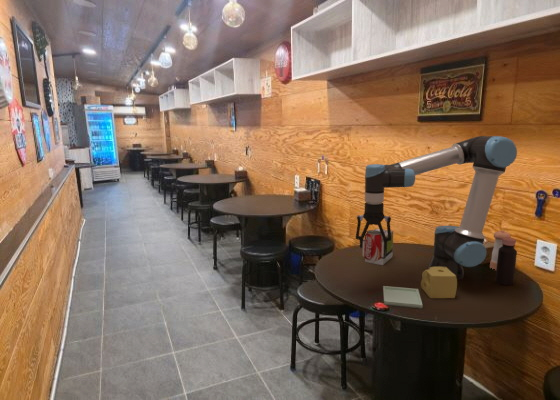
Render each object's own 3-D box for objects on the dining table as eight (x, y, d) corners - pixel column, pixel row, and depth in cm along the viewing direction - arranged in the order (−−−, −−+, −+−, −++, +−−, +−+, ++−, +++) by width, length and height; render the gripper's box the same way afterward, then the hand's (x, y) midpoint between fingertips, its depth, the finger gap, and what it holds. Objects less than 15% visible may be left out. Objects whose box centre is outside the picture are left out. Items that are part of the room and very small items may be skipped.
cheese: (420, 287, 153) (421, 266, 151) (445, 287, 152) (447, 265, 150) (429, 299, 143) (431, 275, 141) (456, 299, 142) (458, 275, 140)
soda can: (381, 263, 145) (383, 235, 143) (363, 261, 147) (365, 234, 144) (380, 256, 152) (381, 230, 150) (363, 255, 154) (364, 229, 151)
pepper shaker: (497, 264, 176) (501, 227, 172) (511, 270, 169) (515, 231, 166) (486, 266, 174) (490, 229, 170) (499, 272, 167) (503, 233, 163)
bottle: (494, 278, 161) (499, 236, 157) (512, 280, 158) (517, 237, 154) (495, 284, 155) (500, 240, 151) (514, 286, 152) (519, 242, 148)
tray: (417, 292, 148) (417, 289, 148) (422, 308, 135) (422, 304, 135) (383, 289, 152) (383, 285, 152) (384, 304, 139) (384, 301, 138)
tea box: (375, 253, 195) (375, 227, 192) (393, 257, 189) (394, 230, 186) (364, 262, 183) (365, 234, 180) (383, 266, 177) (384, 237, 175)
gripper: (399, 201, 146) (397, 253, 150) (349, 200, 151) (349, 251, 155) (400, 204, 139) (398, 260, 143) (348, 203, 143) (348, 257, 148)
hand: (372, 255), depth 149 cm, fingers closed on soda can, 7 cm apart
